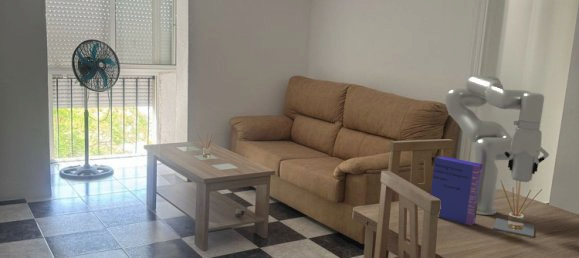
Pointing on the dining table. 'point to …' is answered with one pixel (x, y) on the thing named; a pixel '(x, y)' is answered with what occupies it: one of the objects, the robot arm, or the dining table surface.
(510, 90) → the robot arm
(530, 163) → the can
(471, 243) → the dining table surface
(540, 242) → the dining table surface
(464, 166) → the cereal box
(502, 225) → the mat
